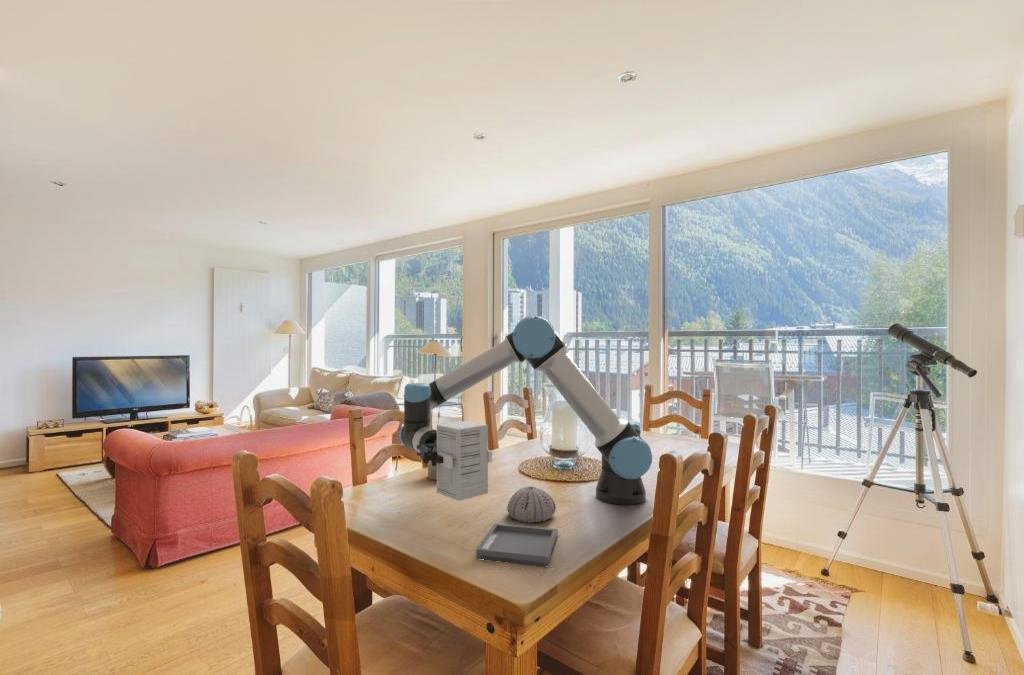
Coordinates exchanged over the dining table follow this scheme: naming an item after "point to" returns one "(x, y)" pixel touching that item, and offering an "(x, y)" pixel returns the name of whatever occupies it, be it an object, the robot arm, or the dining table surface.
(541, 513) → the sea urchin shell
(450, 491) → the supplement box
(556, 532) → the tray
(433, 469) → the planter
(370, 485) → the dining table surface
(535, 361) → the robot arm
